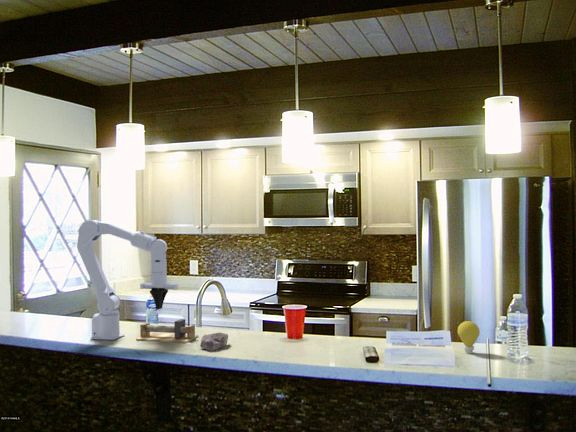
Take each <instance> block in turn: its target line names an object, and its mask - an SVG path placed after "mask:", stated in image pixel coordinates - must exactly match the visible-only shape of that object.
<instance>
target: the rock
mask: <svg viewBox="0 0 576 432" xmlns="http://www.w3.org/2000/svg"><path fill="white" fill-rule="evenodd" d="M228 341H229V334H227V333H223V332H214V333H210V334H209V333H208V334H204V335H203V336H202V337H201V340H200V345H199V346H200V348H201V349H202V350H207V351H209V352H212V351H215V350H219V349H221V348H223V347H225V346H226V345H227V344H228Z"/></svg>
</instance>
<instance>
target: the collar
mask: <svg viewBox="0 0 576 432" xmlns="http://www.w3.org/2000/svg"><path fill="white" fill-rule="evenodd" d="M173 326H175V333H174V334H175V338H181V337H183V336H185V335H187V333H180V326H183V327H186V319H185V318H180V319H177V320H174V324H173Z"/></svg>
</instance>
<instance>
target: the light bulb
mask: <svg viewBox="0 0 576 432" xmlns="http://www.w3.org/2000/svg"><path fill="white" fill-rule="evenodd" d="M457 334H458V337H459V339H460V340H461V343H463V350H464V354H469V355H470V354H473V353H474V352H473V351H474V350H475V346H474V345H475V343H476V341H477V340H478V338H479V337H480V327H478V325H477V324H476V323H475V322H473V321H470V320H466V321H463V322H461V323H460V324H459V325H458V327H457Z"/></svg>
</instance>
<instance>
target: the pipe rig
mask: <svg viewBox="0 0 576 432" xmlns="http://www.w3.org/2000/svg"><path fill="white" fill-rule="evenodd" d="M139 328H140V329H139V330H140V332H139V333H140V336H138V337H137V338H135V341H144V342H145V341H147V342H164V343H184V344H185V343H186V344H187V343H189V342H191V341H193V340H195V339H197V338H199V335H197V334H196V325H195V324H190V325H189V326H185V327H183V326H180V333H186V335H185V336H183V337H181V338H175V326H174V325H157V324H156V325H154V324H152V325H151V323H150V322H145V323H141V324H140V327H139Z"/></svg>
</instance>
